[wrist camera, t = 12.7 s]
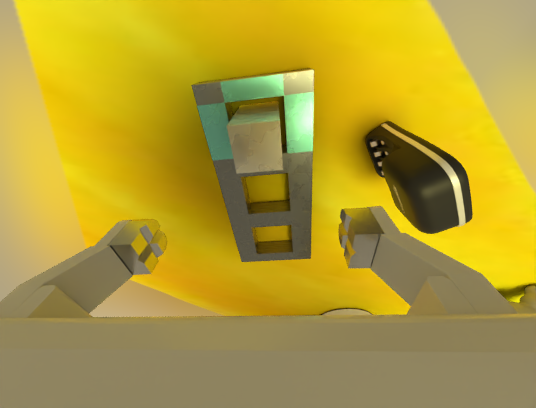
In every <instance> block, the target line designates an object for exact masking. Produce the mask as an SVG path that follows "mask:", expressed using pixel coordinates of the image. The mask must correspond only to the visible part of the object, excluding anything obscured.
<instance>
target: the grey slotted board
mask: <svg viewBox="0 0 536 408" xmlns="http://www.w3.org/2000/svg"><path fill="white" fill-rule="evenodd" d="M192 89H193V92H194V96H195V99H196V103H197V108H198V111H199V115H200V118H201V122H202V125H203V129H204V132H205V136H206V139H207V143H208V146H209V150H210V153H211V157H212V160H213V162H214V166H215V169H216V173H217V176H218V180H219V183H220V187H221V190H222V194H223V197H224V201H225V204H226V208H227V212H228V215H229V219H230V222H231V226H232V229H233V233H234V236H235V240H236V243H237V247H238V250H239V254H240V257H241V261H242V262H251V261H271V260H291V259H310V258H311V213H312V156H313V110H314V70H313V69H311V68H308V69H300V70H293V71H285V72H277V73H269V74H261V75H254V76H246V77H238V78H230V79H222V80H215V81H207V82H199V83H197V84H194V85H192ZM276 96H283V98H284V115H285V132H286V145H282V160H283V170H276V171H263V172H251V173H239V174H237V172H236V168H235V163H234V158H233V154H232V149H231V144H230V140H229V135H228V130H227V125H228V123H229V122H230V120H231V119H232V117H233V113H232V108H231V103H230V102H234V101H243V100H251V99H260V98H268V97H276ZM281 173H288V183H289V200H286V201H273V202H259V203H250V199H249V194H248V189H247V184H246V179H245V177H246V176H258V175H270V174H281ZM282 225H291V233H292V240H288V241H271V242H258V240H257V235H256V230H255V227H266V226H282Z"/></svg>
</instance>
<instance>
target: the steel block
mask: <svg viewBox="0 0 536 408" xmlns="http://www.w3.org/2000/svg"><path fill="white" fill-rule="evenodd" d="M227 130H228V135H229V140H230V144H231V149H232V154H233V158H234V163H235V168H236V172H237V174H239V173H251V172H263V171H276V170H283V160H282V145H281V130H280V116H279V104H278V101H273V102H264V103H254V104H245V105H240V107H239V108H238V110H237V111H236V113H235V114H234V116H233V117H232V119H231V120H230V122H229V123H228V125H227Z"/></svg>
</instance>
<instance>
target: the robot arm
mask: <svg viewBox="0 0 536 408" xmlns="http://www.w3.org/2000/svg"><path fill="white" fill-rule="evenodd" d="M340 218H341V220H342V223H341V224H339V240H340V244H341V247H343V248H344V249H345V252H344V256H345V259H346V262H347V265H348V268H371V270H372V271H373V272H375V273H376V274H377V275H378V276H379V277H380V278H381V279H382V280H383V281H384V282H385V283H386V284H388V285H389V286H390V287H391V288H392V289H393V290H394V291H395V292H396V293H397V294H398V295H400V296H401V297H402V298H403V299H404V300H405V301H406V302H407V303H408V304H409V305H410V306H411V308H410V309H409V311H408V313H407V315H372V314H371V313H369V312H366V311H363V310H358V309H341V310H335V311H331V312H327V313H325V314H323V315H305V316H197V317H196V316H195V317H194V316H189V317H92V316H91V315H89V313H90V312H91V311H92V310H94V309H95V308H96V307H97V306H98V305H99V304H101V303H102V302H103V301H104V300H105V299H106V298H107V297H109V296H110V295H111V294H112V293H113V292H114V291H116V290H117V289H118V288H119V287H120V286H121V285H123V284H124V283H125V282H126V281H127V280H128V279H130V278H131V277H132V276H133V275H138V274H151V273H152V271H153V270H154V268H155V266H156V265H157V263H158V257H159V256H160V255H162V254H163V253H164V251H165V249H166V245H167V239H166V236H165V234H164V233H163V232H162V231H160V230H159V228H160V225H159V223H158V221H157V220H154V219H142V220H122V221H119V222H118V223H117V224H116V225H115V226H114V227H113V228H112V229H111V230H110V231H109V232H108V233H107V234H106V235H105V236H104V237H103V238H102V239H101V240H100V241H99V242H98V243H97V244H96V245H95V246H93V247H89V248H87V249H85V250H84V251H82V252H80V253H78V254H76V255H75V256H72V257H71V258H69V259H67V260H65V261H63V262H61V263H60V264H58V265H56V266H54V267H52V268H50V269H48V270H47V271H45V272H43V273H41V274H39V275H37V276H35V277H34V278H32V279H30V280H28V281H26V282H24V283H23V284H20V285H19V286H18V287H17V288H16V289H14V290H13V291H12V292H11V293H10V294H9V295H8V296H7V297H5V298H4V299H3V300H2V301H1V302H0V408H536V314H519V313H518V312H517V311H516V310H515V309H514V308H513V307H512V306H511V305H510V304H509V303H508V301H507V300H506V299H505V298H504V297H503V296H502V295H501V294H500V293H499V292H498V291H497V290H496V289H495V288H494V287H493V285H492V284H491V283H490V282H489V281H488V280H487V279H486V278H485V277H484V276H483V275H482V274H481V273H479V272H477V271H475V270H473V269H471V268H469V267H468V266H466V265H464V264H462V263H460V262H458V261H456V260H454V259H453V258H451V257H449V256H447V255H445V254H443V253H441V252H439V251H438V250H436V249H434V248H432V247H430V246H428V245H426V244H425V243H423V242H421V241H419V240H417V239H415V238H413V237H411V236H410V235H408V234H406V233H400V231H399V230H398V228H397V227H396V226H395V224H394V223H393V221H392V220H391V219H390V217H389V216H388V214H387V213H386V212H385V210H384V209H383V207H381V206H375V207H367V208H351V209H342V210H341V214H340Z"/></svg>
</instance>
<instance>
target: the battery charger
mask: <svg viewBox="0 0 536 408" xmlns="http://www.w3.org/2000/svg"><path fill="white" fill-rule="evenodd" d="M365 142H366V146H367V149H368V151H369V154H370V156H371V159H372V161H373V164H374V166H375V169H376V171H377V173H378V175H379V176H381V177H384V178H385V179H386V182H387V184H388V186H389V188H390V191H391V194H392V198H393V200H394V203H395V205H396V207H397V208H398V209H399V210H400V212H401V213H402V214H403V215H404V216H405V217H406V218H407V219H408V220H409V221H410V223H411V224H412V225H413V226H414V227H415V228H417V229H418V230H419V231H421V232H424V233H427V234H434V233H438V232H441V231H444V230H447V229H450V228H452V227H459V226H462V225H464V224H465V223H467V222H469V221H470V220H471V219H472V203H471V194H470V187H469V180H468V176H467V173H466V171H465V169H464V168H463V166H462V165H461V163H460V162H459V161H457V160H456V159H455V158H454V157H453V156H451V155H450V154H448V153H446V152H445V151H443V150H441V149H440V148H438V147H436V146H435V145H433V144H431V143H429V142H428V141H426V140H424V139H422V138H420V137H418V136H416V135H414V134H412V133H410V132H408V131H406V130H404V129H402V128H401V127H399V126H397V125H396V124H394V123H392V122H387V123H383V124H382V125H380V127H378V128H376V129H375V130H373V131H372V132H371V133H370V134H369V135H368V136H367V137H366V140H365Z"/></svg>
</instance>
